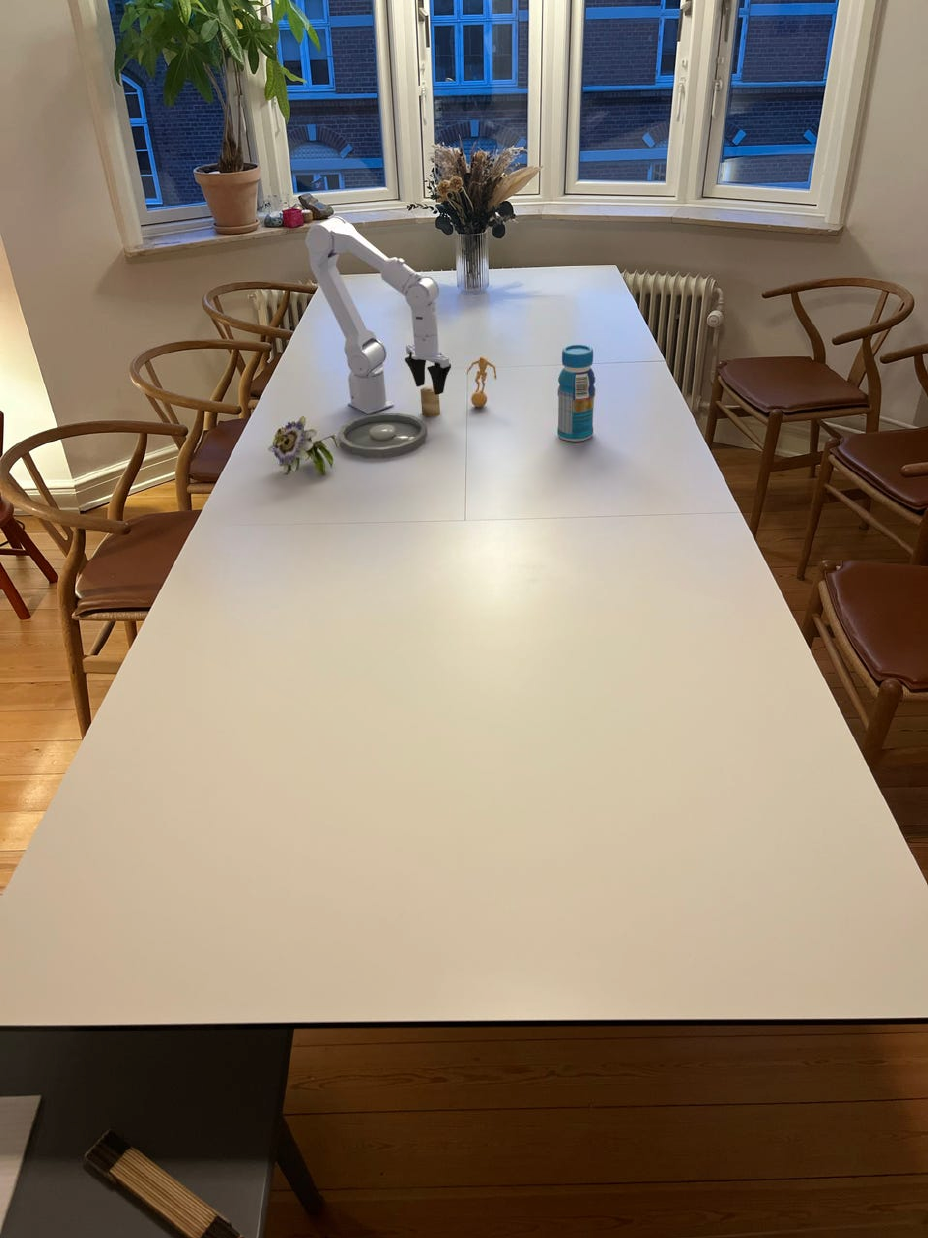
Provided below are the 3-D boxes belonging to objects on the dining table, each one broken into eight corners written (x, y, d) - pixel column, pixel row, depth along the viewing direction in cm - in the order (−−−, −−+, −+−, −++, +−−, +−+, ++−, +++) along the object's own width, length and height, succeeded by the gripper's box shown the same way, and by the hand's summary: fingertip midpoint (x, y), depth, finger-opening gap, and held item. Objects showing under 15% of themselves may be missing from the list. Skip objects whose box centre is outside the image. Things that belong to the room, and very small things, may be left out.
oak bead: (418, 413, 216) (416, 389, 212) (432, 408, 218) (431, 384, 214) (429, 418, 213) (427, 394, 209) (443, 413, 215) (442, 389, 212)
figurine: (461, 406, 218) (458, 359, 211) (473, 398, 222) (471, 351, 215) (490, 412, 214) (488, 364, 207) (501, 403, 218) (500, 356, 211)
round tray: (323, 437, 206) (322, 429, 205) (394, 413, 216) (393, 405, 215) (371, 465, 193) (370, 457, 192) (444, 438, 203) (443, 430, 202)
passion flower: (292, 497, 196) (253, 448, 192) (327, 466, 202) (289, 419, 198) (318, 481, 186) (277, 430, 182) (354, 450, 192) (314, 400, 188)
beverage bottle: (550, 439, 200) (552, 353, 188) (565, 425, 206) (566, 340, 194) (585, 445, 197) (589, 357, 185) (598, 430, 202) (603, 345, 191)
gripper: (393, 330, 207) (399, 385, 215) (430, 344, 197) (434, 401, 205) (417, 323, 210) (422, 378, 218) (454, 336, 201) (458, 393, 209)
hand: (429, 389), depth 212 cm, fingers open, 7 cm apart
